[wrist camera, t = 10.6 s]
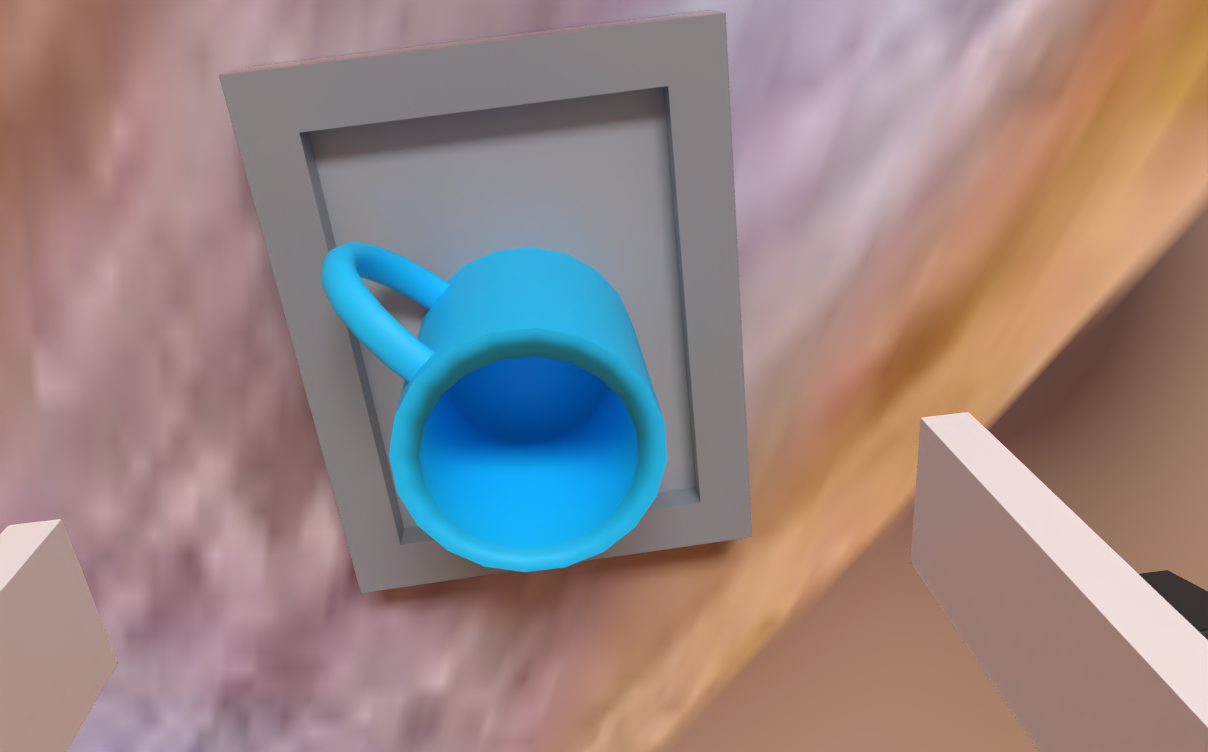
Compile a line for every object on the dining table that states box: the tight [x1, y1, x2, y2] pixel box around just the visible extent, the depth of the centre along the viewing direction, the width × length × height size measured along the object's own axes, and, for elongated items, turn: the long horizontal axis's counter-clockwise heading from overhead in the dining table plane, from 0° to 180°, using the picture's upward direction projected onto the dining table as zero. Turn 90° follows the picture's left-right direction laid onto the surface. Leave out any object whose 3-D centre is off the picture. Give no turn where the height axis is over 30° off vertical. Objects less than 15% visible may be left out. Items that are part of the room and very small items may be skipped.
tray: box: [219, 10, 752, 593], centre depth 33 cm, size 16×20×3 cm
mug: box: [321, 242, 667, 572], centre depth 29 cm, size 12×8×8 cm
